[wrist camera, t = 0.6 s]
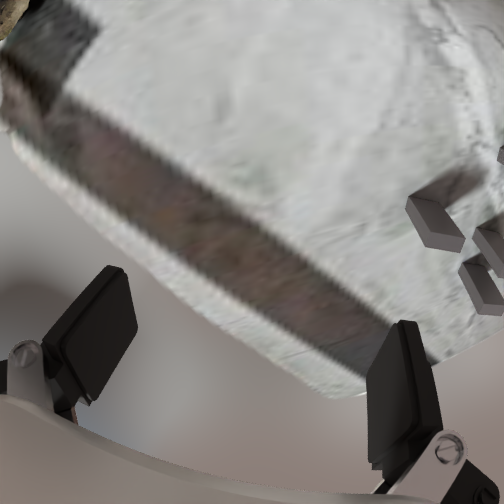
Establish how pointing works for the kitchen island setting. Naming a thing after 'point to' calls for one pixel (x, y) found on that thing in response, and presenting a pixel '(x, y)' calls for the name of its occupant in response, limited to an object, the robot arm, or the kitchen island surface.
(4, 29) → the hollow geode rock
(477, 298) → the domino
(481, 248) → the domino
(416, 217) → the domino
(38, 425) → the robot arm
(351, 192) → the kitchen island surface
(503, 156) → the domino
